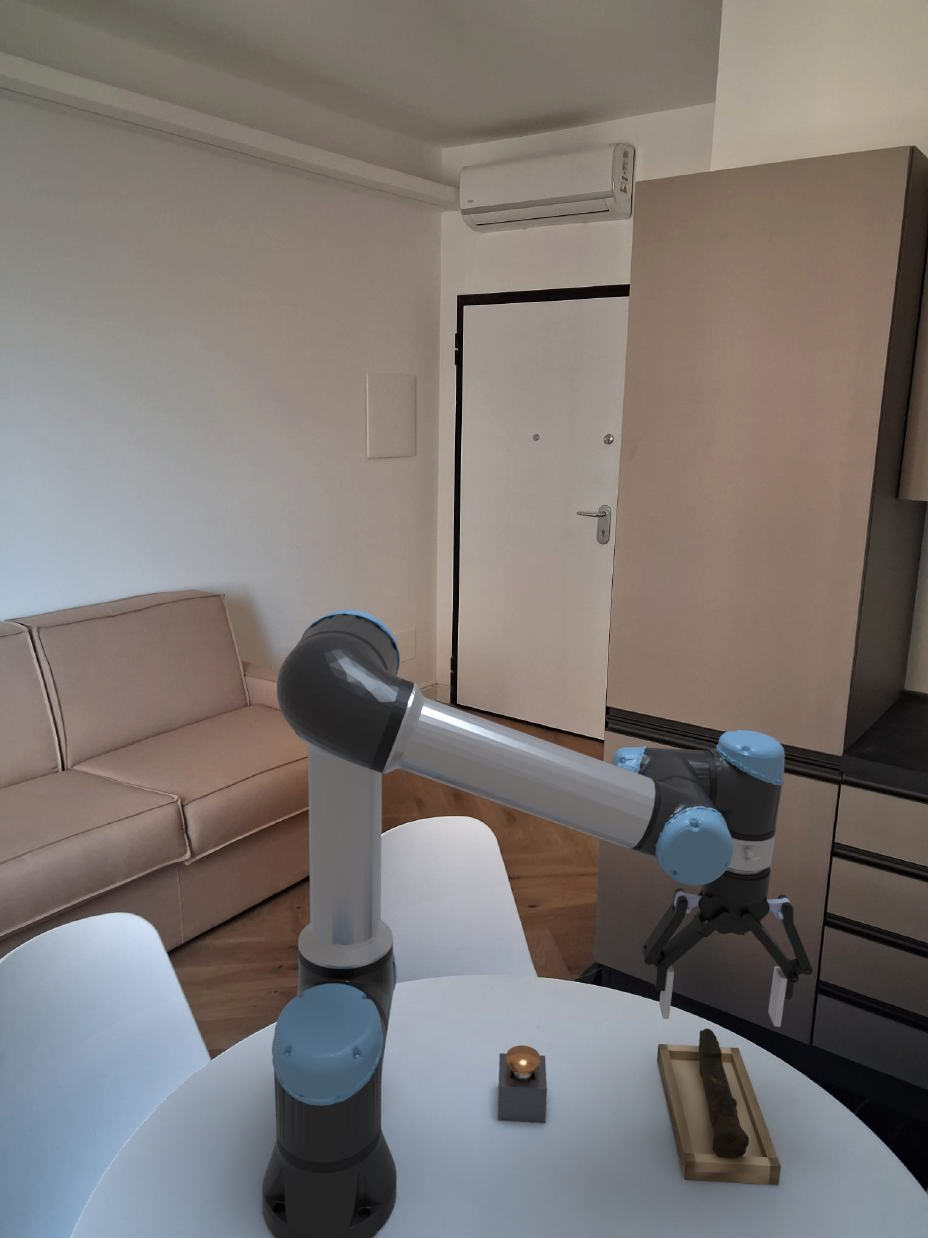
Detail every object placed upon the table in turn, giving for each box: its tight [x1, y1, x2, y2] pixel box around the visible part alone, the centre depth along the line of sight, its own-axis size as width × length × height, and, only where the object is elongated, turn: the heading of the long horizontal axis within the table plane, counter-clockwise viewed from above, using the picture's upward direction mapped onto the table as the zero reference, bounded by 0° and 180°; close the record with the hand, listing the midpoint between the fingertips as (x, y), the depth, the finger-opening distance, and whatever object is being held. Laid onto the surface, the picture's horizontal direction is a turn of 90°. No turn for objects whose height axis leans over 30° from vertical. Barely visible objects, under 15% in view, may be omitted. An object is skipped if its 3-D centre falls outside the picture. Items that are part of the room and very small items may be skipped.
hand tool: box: [698, 1027, 749, 1158], centre depth 114 cm, size 19×4×5 cm, turn 173°
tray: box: [656, 1043, 782, 1186], centre depth 115 cm, size 11×20×3 cm, turn 177°
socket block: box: [497, 1052, 548, 1124], centre depth 117 cm, size 6×6×5 cm
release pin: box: [505, 1044, 541, 1080], centre depth 116 cm, size 4×4×7 cm
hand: (719, 1016), depth 112 cm, fingers open, 13 cm apart
